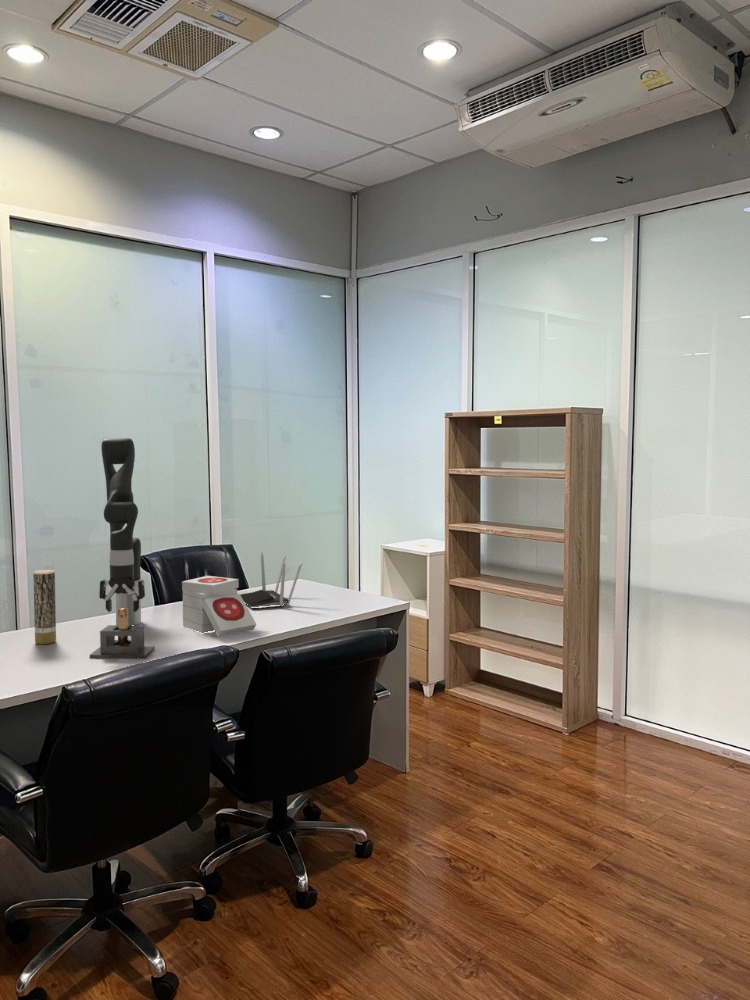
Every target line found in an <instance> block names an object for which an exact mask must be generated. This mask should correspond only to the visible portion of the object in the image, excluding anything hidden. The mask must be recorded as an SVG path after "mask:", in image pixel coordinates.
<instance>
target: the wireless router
mask: <svg viewBox="0 0 750 1000" xmlns="http://www.w3.org/2000/svg"><path fill="white" fill-rule="evenodd" d="M286 558H287V554H285V555H284V556H283V557H282V562H281V565H280V569H279V573H278V577H277V580H276V581H277V582H276V586H275V590H272V589H270V590H267V588H266V574H265V560H264V552H260V563H261V564H260V565H261V566H260V567H261V570H260V571H261V588H262V589H260V590H255V591H252V592H246V593H241V594H240V593H239V594H240V595H241V597H242V599H243V601H244V602H245V603H246V604H248V605H249V606H250V607H259V606H270V605H280V606H282V605H283V604H285V603H286V604H287V603H289V604H290V603H291V599H292V596H293V593H294V589H295V588H296V583H297V580H298V578H299V574H300V572H301V569H302V566H303V561H301V562H300V563H299V565H298V568H297V571H296V573H295V577H294V579H293V583H292V586H291V589H290V592H289V595H288V598H286V597H285V595H284V593H285V578H286V577H285V576H286V563H285V561H286ZM279 587H280V591H279ZM278 591H279V592H280V593H278ZM286 604H285V605H286ZM248 605H247V606H248ZM249 606H248V607H249ZM250 607H249V608H250Z"/></svg>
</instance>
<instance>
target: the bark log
mask: <svg viewBox="0 0 750 1000" xmlns="http://www.w3.org/2000/svg"><path fill="white" fill-rule="evenodd" d="M32 573H33V575H32V576H33V612H34V613H33V614H34V618H33V619H34V622H33V623H34V642H35V644H37V645H50V644H54V643H56V641H57V614H56V606H57V605H56V572H55V569H39V570H38V569H37V570H34V571H33V572H32ZM53 642H54V643H53Z"/></svg>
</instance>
